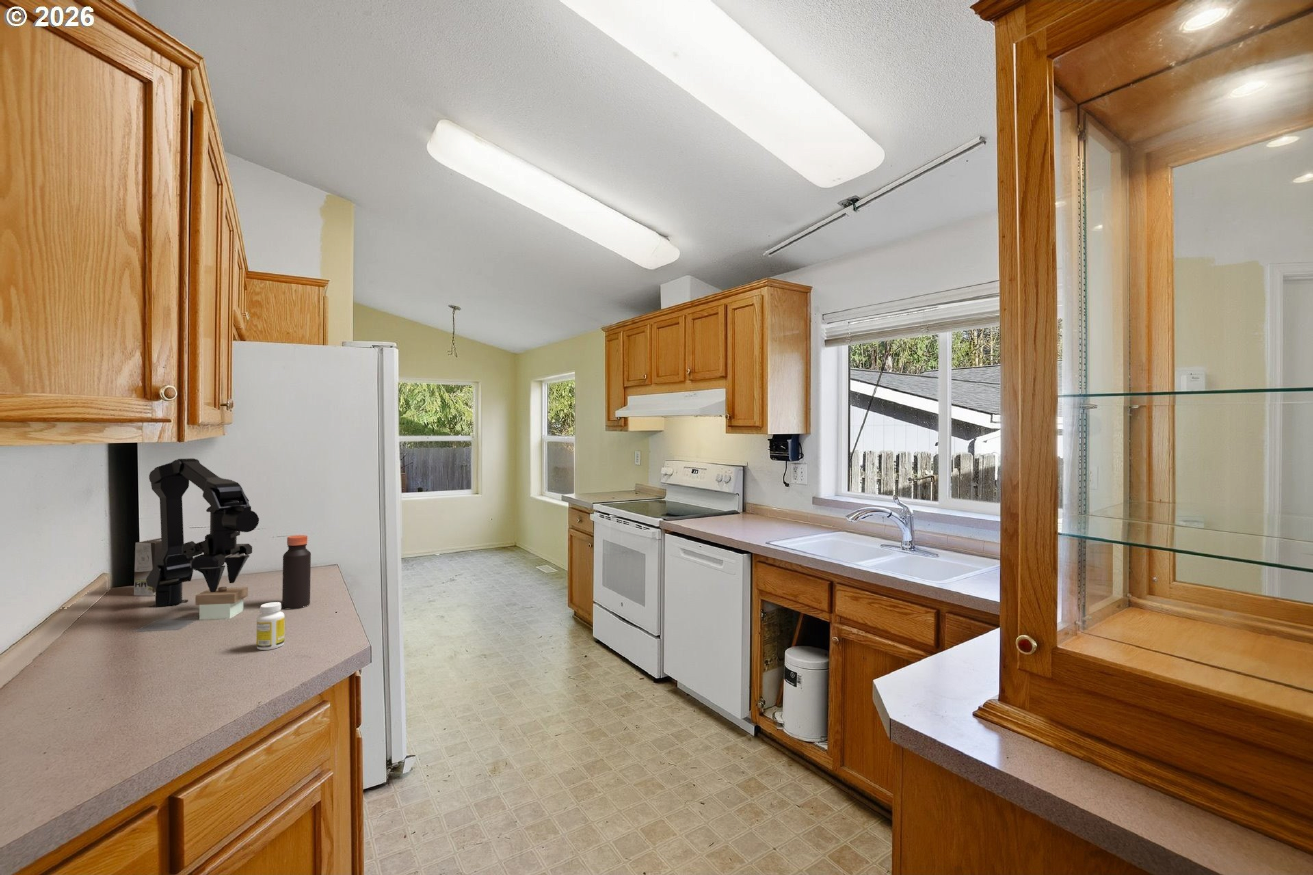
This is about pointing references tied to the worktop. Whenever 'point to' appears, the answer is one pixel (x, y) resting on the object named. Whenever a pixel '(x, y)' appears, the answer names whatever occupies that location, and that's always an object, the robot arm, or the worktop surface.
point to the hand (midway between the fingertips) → (222, 587)
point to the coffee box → (145, 565)
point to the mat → (167, 624)
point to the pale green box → (220, 611)
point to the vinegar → (296, 573)
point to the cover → (221, 596)
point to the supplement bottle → (270, 626)
